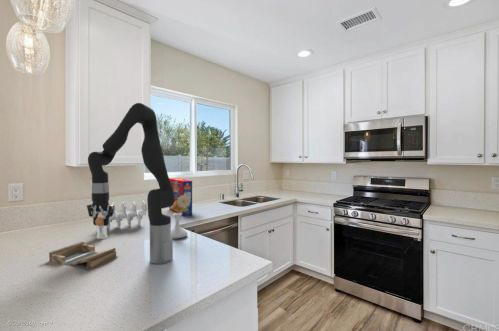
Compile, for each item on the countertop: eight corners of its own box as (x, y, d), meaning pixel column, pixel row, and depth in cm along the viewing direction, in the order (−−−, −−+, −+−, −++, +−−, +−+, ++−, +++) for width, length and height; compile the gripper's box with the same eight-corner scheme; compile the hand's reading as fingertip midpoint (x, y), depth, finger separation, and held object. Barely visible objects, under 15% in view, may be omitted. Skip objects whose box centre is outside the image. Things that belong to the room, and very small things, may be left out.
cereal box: (169, 209, 217) (169, 178, 216) (177, 208, 222) (177, 178, 221) (182, 216, 196) (182, 181, 195) (192, 214, 201) (192, 180, 200)
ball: (109, 225, 126) (109, 215, 126) (101, 227, 121) (101, 217, 121) (100, 224, 127) (100, 215, 126) (92, 227, 122) (92, 217, 121)
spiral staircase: (105, 234, 162) (146, 227, 174) (103, 229, 147) (148, 222, 159) (103, 207, 167) (143, 202, 179) (102, 200, 153) (145, 195, 165)
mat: (119, 257, 116) (119, 255, 116) (88, 271, 102) (88, 269, 102) (82, 249, 125) (82, 248, 125) (49, 261, 111) (49, 259, 111)
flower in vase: (166, 241, 139) (166, 197, 138) (167, 234, 150) (167, 194, 149) (190, 239, 142) (190, 196, 141) (189, 233, 153) (190, 193, 152)
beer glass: (112, 236, 146) (112, 211, 145) (102, 240, 139) (102, 213, 138) (102, 235, 148) (102, 210, 147) (92, 238, 141) (92, 213, 140)
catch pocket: (94, 251, 122) (94, 243, 122) (62, 264, 108) (62, 255, 108) (82, 249, 125) (82, 241, 125) (49, 261, 111) (49, 252, 111)
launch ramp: (116, 260, 115) (116, 248, 115) (91, 271, 104) (91, 258, 103) (95, 255, 120) (95, 244, 119) (69, 265, 108) (69, 253, 108)
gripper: (118, 190, 126) (119, 223, 126) (93, 190, 128) (94, 222, 128) (107, 193, 118) (108, 228, 119) (81, 192, 120) (82, 226, 121)
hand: (101, 225), depth 124 cm, fingers closed on ball, 5 cm apart
